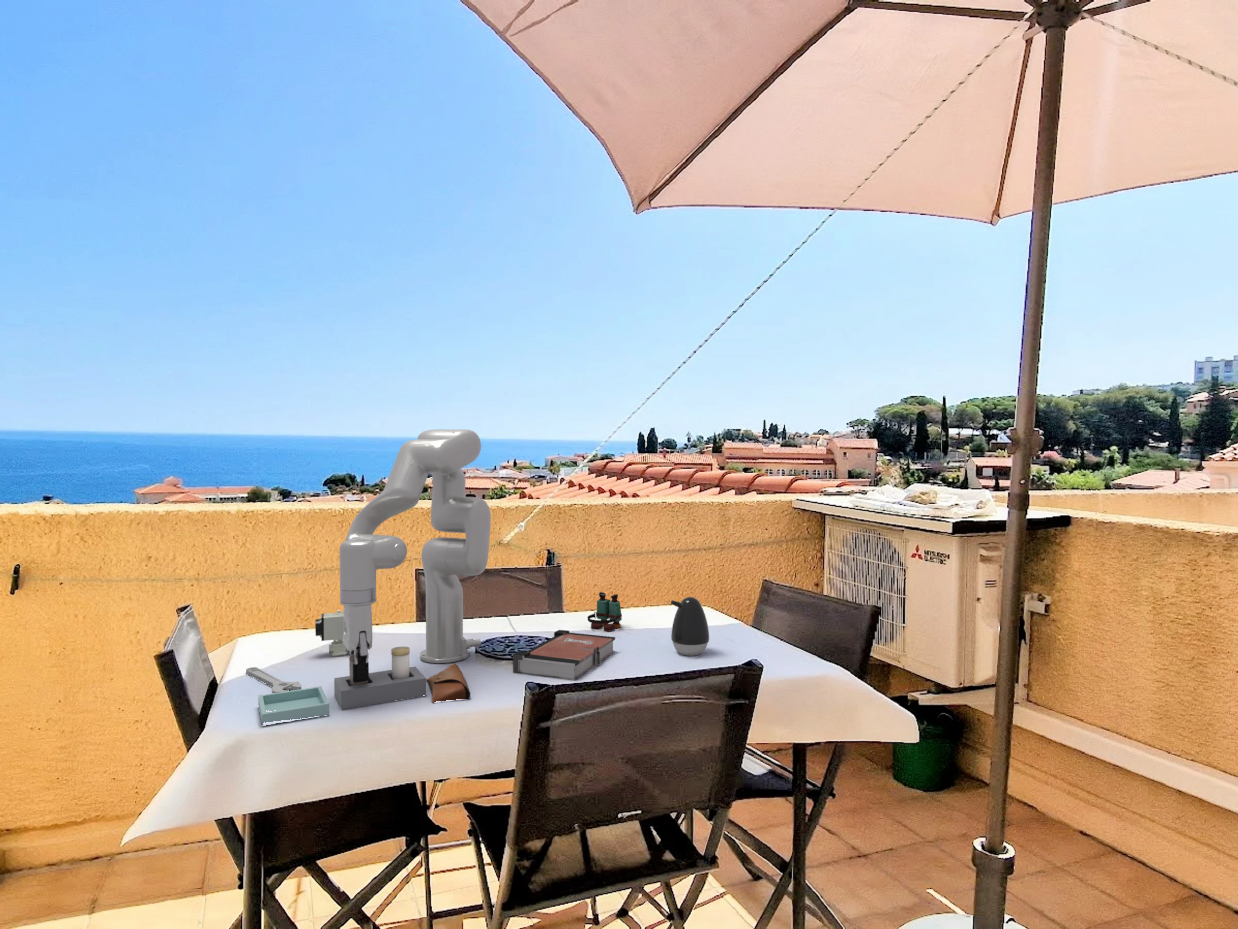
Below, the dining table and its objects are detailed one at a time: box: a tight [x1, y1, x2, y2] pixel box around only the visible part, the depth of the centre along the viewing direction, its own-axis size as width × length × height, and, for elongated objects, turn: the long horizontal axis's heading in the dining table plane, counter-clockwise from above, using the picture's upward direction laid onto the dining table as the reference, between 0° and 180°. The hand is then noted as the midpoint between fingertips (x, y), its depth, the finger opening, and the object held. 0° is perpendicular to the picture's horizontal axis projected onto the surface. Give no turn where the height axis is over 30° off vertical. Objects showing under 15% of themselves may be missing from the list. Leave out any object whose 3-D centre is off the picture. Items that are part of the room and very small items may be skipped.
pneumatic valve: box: [314, 609, 350, 657], centre depth 199 cm, size 6×12×12 cm, turn 111°
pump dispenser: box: [670, 596, 710, 657], centre depth 200 cm, size 10×10×15 cm
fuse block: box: [333, 666, 427, 710], centre depth 166 cm, size 18×10×4 cm, turn 119°
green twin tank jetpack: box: [587, 591, 623, 632], centre depth 226 cm, size 9×11×10 cm
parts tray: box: [257, 685, 330, 723], centre depth 156 cm, size 13×13×2 cm
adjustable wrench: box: [245, 666, 302, 694], centre depth 176 cm, size 25×6×2 cm, turn 42°
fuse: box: [390, 646, 411, 680], centre depth 168 cm, size 4×4×10 cm
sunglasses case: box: [426, 662, 471, 703], centre depth 171 cm, size 18×7×7 cm, turn 20°
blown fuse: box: [348, 652, 370, 686], centre depth 164 cm, size 4×4×10 cm
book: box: [512, 629, 616, 682], centre depth 192 cm, size 26×18×5 cm
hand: (359, 677), depth 164 cm, fingers closed on blown fuse, 3 cm apart
